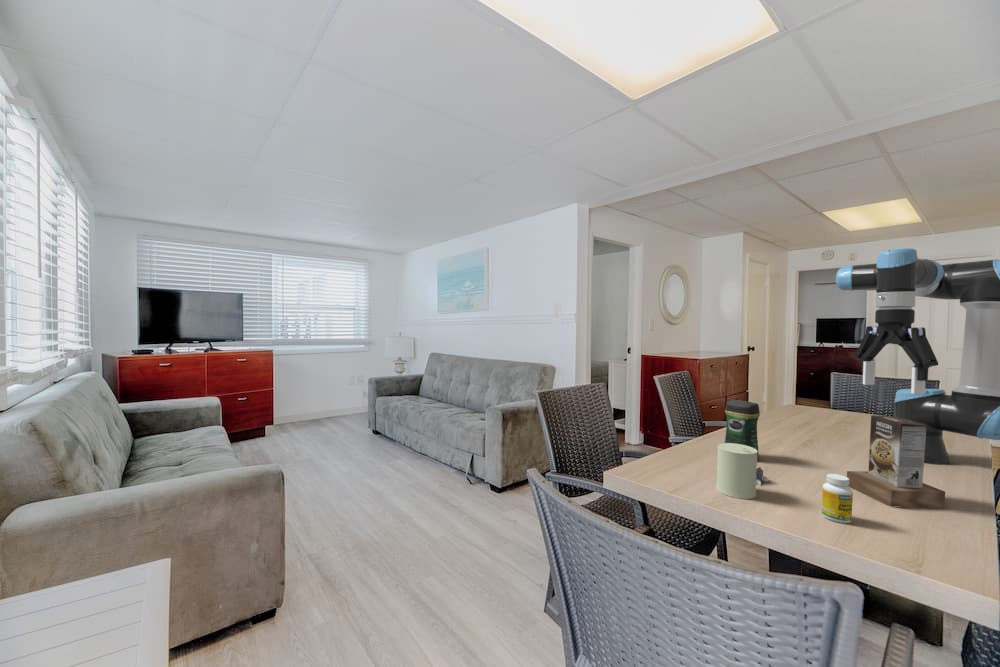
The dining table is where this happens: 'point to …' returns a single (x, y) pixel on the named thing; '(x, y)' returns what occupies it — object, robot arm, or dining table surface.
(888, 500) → the walnut stand
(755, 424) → the coffee jar
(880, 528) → the dining table surface
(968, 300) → the robot arm
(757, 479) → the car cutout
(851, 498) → the supplement bottle
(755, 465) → the can
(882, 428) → the cookie box
